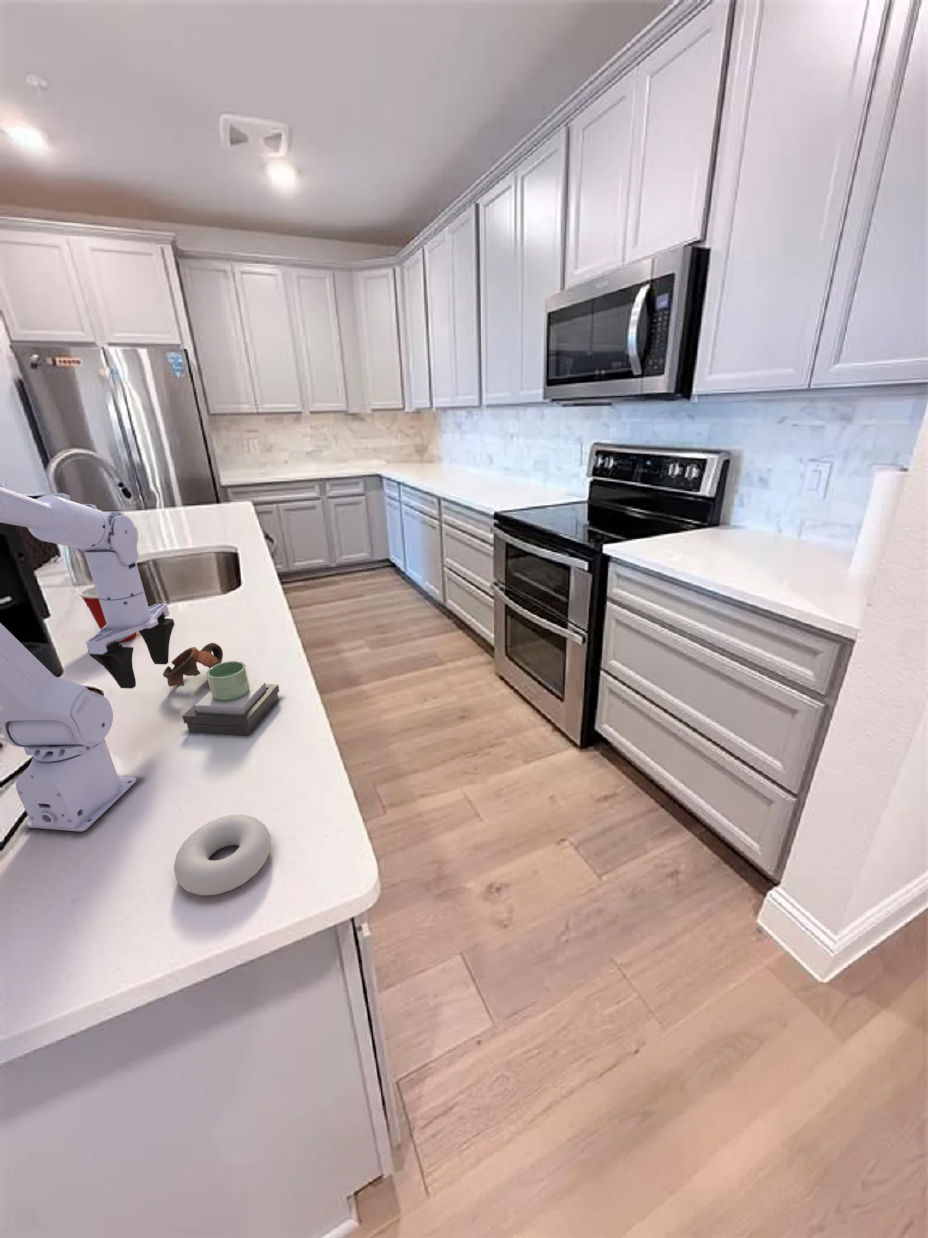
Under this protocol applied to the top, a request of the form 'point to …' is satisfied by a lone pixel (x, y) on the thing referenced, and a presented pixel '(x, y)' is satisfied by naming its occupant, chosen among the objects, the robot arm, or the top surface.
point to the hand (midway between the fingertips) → (145, 674)
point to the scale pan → (232, 701)
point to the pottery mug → (192, 663)
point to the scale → (232, 716)
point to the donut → (230, 871)
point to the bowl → (228, 680)
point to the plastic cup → (97, 608)
